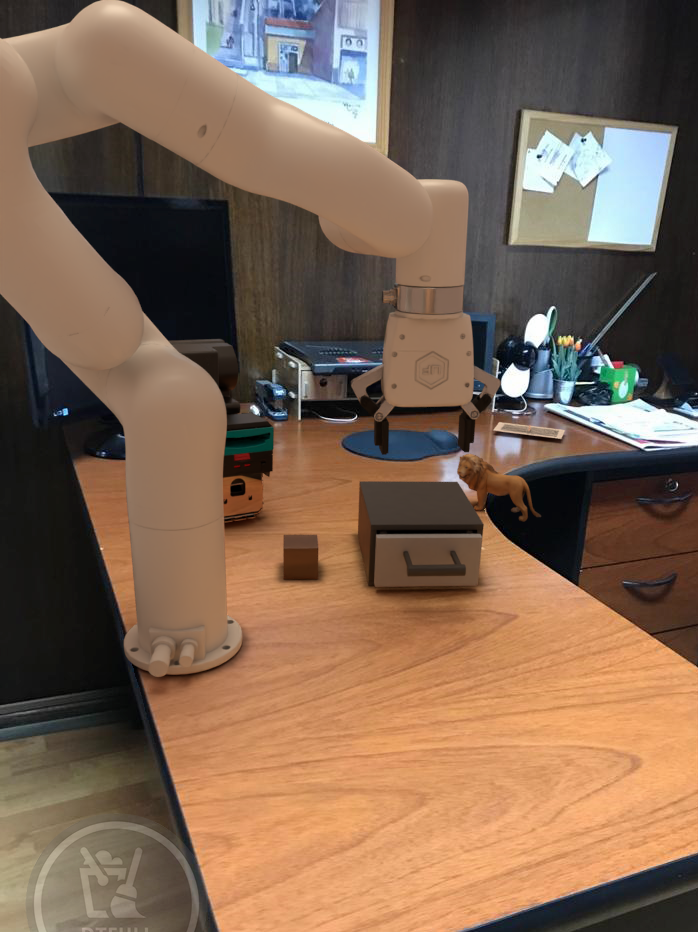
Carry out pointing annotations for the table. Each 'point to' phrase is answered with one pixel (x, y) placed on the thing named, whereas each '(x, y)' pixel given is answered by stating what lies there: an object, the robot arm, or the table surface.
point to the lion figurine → (493, 484)
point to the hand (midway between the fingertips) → (423, 450)
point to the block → (300, 557)
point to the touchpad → (529, 430)
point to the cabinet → (410, 512)
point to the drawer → (427, 558)
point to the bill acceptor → (235, 431)
